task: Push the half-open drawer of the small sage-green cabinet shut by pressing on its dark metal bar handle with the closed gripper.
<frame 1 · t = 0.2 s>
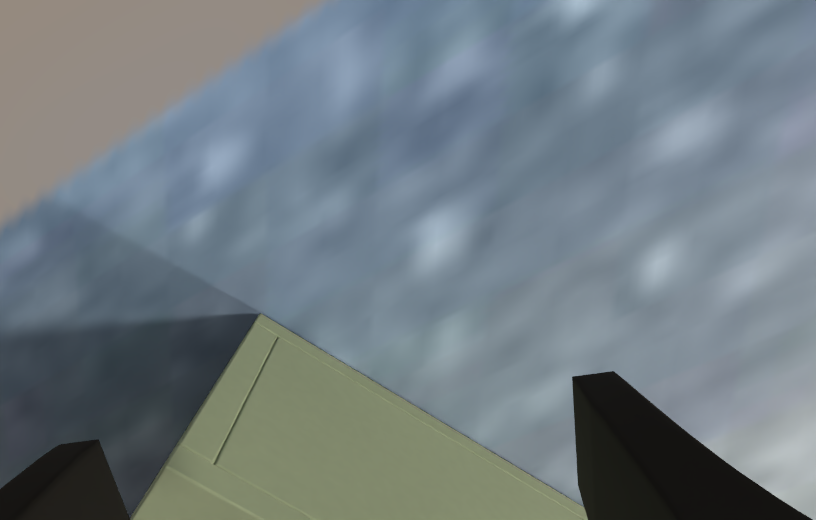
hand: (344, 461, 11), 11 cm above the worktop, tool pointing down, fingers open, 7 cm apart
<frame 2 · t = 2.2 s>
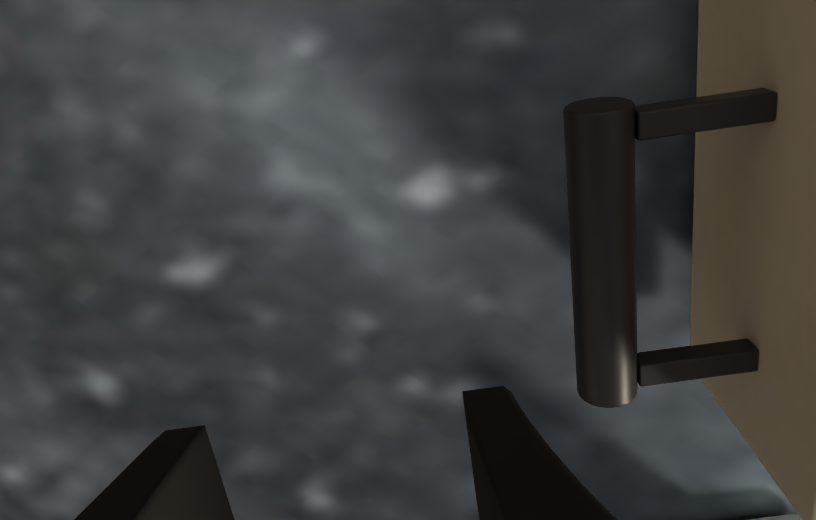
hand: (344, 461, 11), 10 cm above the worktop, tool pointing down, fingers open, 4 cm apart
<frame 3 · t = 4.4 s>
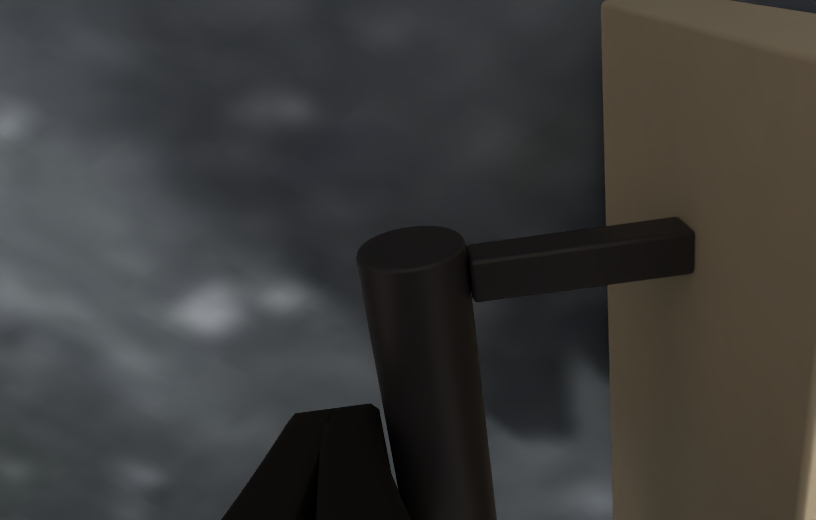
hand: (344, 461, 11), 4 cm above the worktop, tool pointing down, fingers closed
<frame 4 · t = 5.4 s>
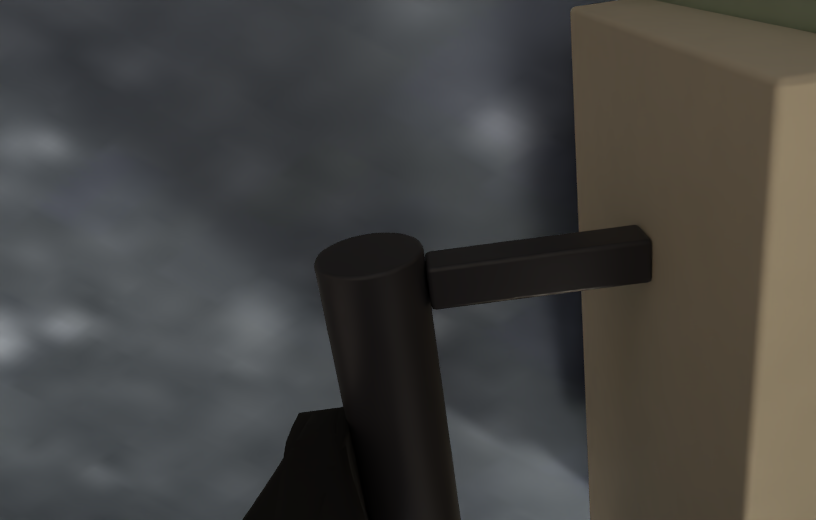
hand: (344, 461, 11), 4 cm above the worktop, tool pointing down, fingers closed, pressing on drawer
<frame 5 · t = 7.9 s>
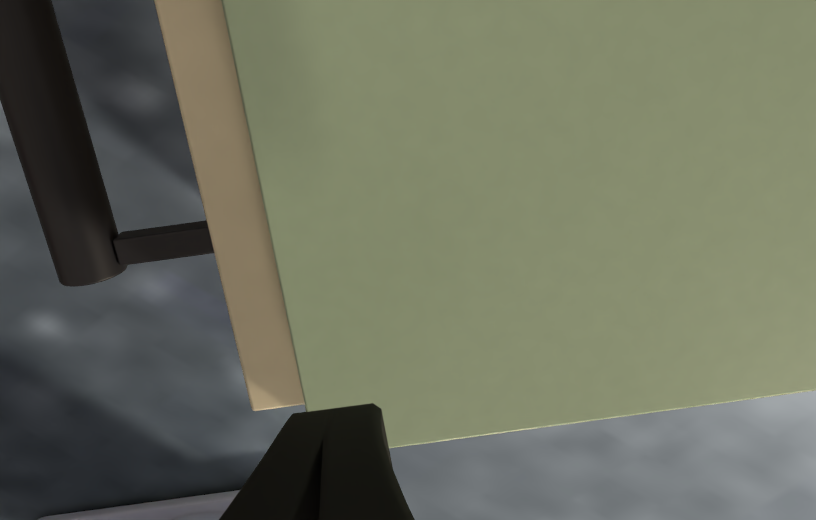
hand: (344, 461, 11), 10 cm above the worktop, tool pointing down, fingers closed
drawer: (443, 58, 15), point 4 cm above the worktop, slide at 0.0 cm, touching cabinet
cabinet: (572, 26, 19), on the worktop
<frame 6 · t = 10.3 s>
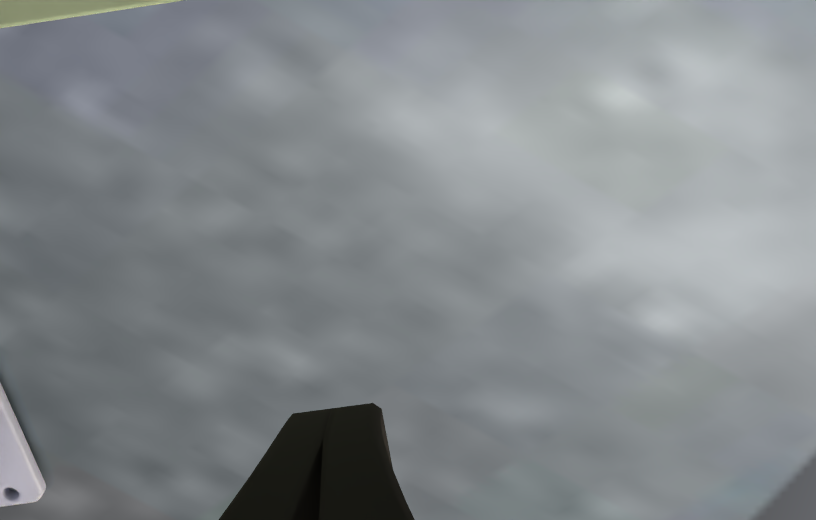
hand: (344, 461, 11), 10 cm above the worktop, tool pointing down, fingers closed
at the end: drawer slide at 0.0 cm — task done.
